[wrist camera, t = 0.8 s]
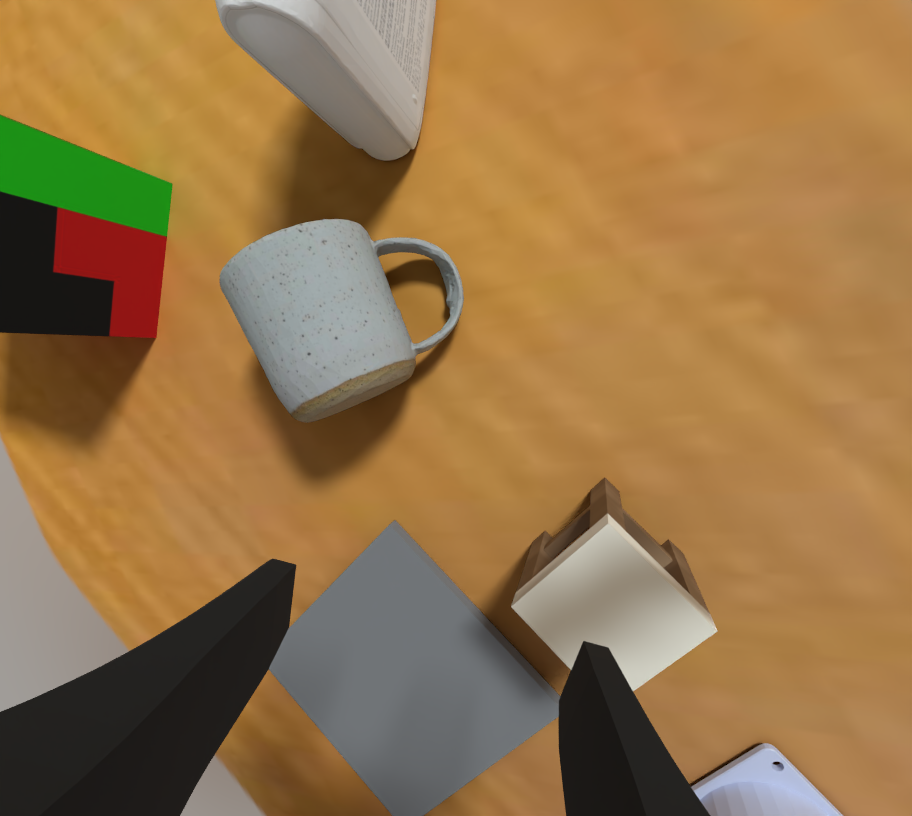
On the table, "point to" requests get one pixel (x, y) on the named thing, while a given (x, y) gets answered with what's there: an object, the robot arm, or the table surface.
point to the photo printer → (345, 62)
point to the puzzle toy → (77, 239)
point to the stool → (612, 591)
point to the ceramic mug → (329, 313)
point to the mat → (410, 677)
